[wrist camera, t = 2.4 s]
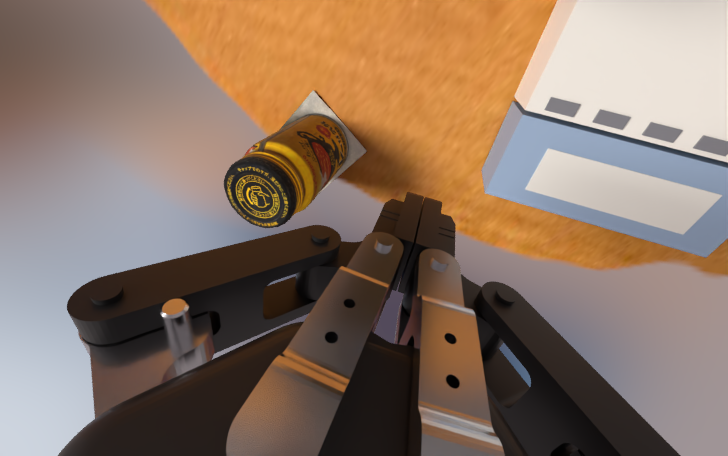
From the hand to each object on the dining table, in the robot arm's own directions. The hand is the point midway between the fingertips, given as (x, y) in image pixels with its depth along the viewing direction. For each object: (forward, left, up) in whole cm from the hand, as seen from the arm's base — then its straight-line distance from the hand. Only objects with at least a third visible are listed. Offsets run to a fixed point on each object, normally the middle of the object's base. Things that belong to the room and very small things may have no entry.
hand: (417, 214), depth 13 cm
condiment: (+6, -11, -17) cm, 21 cm away
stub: (0, +13, -16) cm, 21 cm away
